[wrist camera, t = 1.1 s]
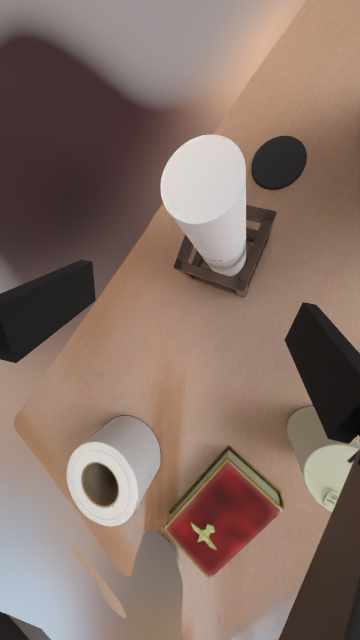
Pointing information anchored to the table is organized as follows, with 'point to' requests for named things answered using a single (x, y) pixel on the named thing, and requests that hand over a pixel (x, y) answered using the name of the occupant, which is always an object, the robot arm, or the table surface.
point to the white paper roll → (113, 470)
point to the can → (320, 456)
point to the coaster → (279, 162)
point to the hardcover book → (223, 512)
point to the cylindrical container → (209, 199)
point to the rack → (251, 263)
